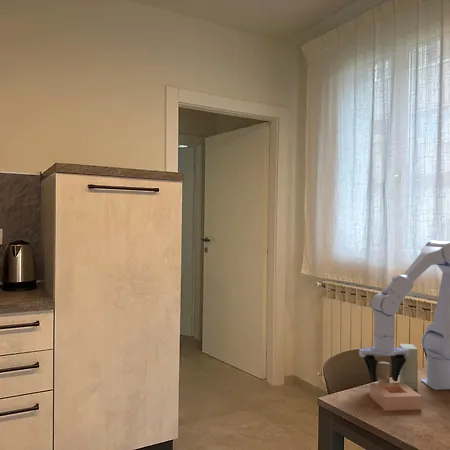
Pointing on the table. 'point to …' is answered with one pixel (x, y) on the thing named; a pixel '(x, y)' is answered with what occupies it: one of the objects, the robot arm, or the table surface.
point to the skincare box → (410, 367)
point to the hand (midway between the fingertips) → (383, 380)
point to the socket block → (395, 396)
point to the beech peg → (383, 372)
